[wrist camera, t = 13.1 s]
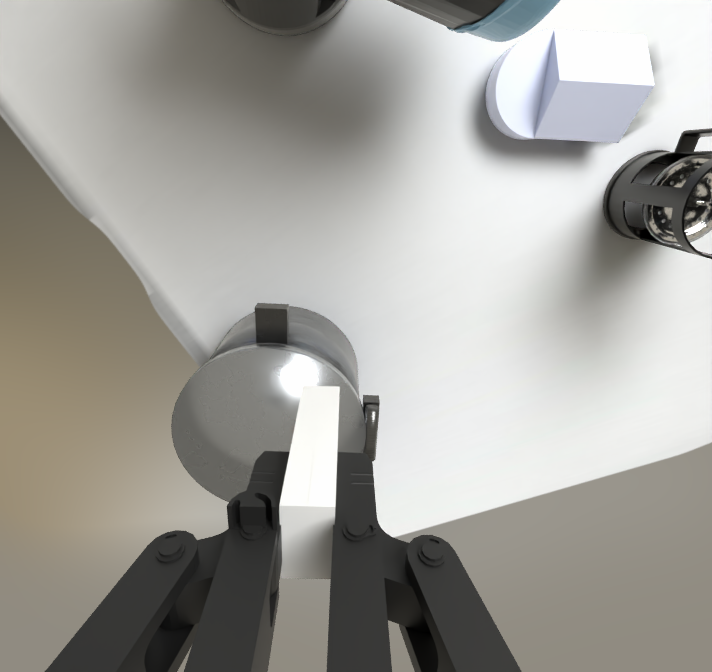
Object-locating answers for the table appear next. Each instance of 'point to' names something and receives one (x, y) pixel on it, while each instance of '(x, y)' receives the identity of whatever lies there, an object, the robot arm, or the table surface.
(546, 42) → the wedge on round base
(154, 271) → the table surface
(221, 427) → the lid
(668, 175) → the french press
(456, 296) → the table surface
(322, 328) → the pot
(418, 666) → the robot arm
